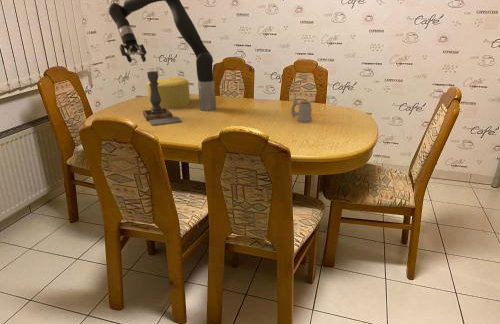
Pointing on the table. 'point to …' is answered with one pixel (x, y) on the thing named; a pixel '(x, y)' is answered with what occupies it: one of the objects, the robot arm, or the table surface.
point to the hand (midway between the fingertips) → (137, 61)
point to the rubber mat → (164, 121)
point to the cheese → (172, 92)
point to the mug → (302, 111)
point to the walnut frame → (160, 116)
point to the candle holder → (154, 93)
